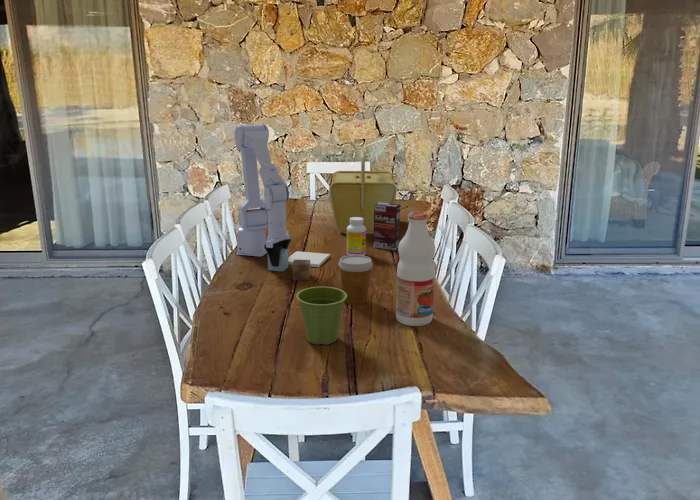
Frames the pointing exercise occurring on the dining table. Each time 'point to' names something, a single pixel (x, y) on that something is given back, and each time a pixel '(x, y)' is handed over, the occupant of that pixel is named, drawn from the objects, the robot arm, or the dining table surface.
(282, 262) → the blue block
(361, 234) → the supplement bottle
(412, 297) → the fruit juice
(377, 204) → the supplement box
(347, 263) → the disposable coffee cup
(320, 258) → the plate
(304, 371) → the dining table surface
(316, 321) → the plant pot
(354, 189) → the picnic basket
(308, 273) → the walnut block
